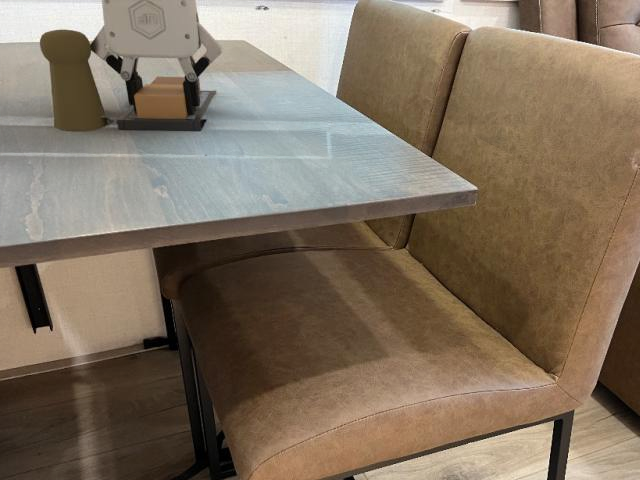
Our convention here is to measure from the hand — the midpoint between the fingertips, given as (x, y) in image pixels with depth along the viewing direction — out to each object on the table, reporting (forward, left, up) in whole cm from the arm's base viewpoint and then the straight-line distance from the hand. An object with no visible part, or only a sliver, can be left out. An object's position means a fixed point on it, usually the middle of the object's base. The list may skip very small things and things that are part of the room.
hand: (166, 110), depth 80 cm
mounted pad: (0, +7, -1) cm, 7 cm away
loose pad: (0, 0, -1) cm, 1 cm away
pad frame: (0, +4, -2) cm, 4 cm away
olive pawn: (-10, -2, -2) cm, 10 cm away
